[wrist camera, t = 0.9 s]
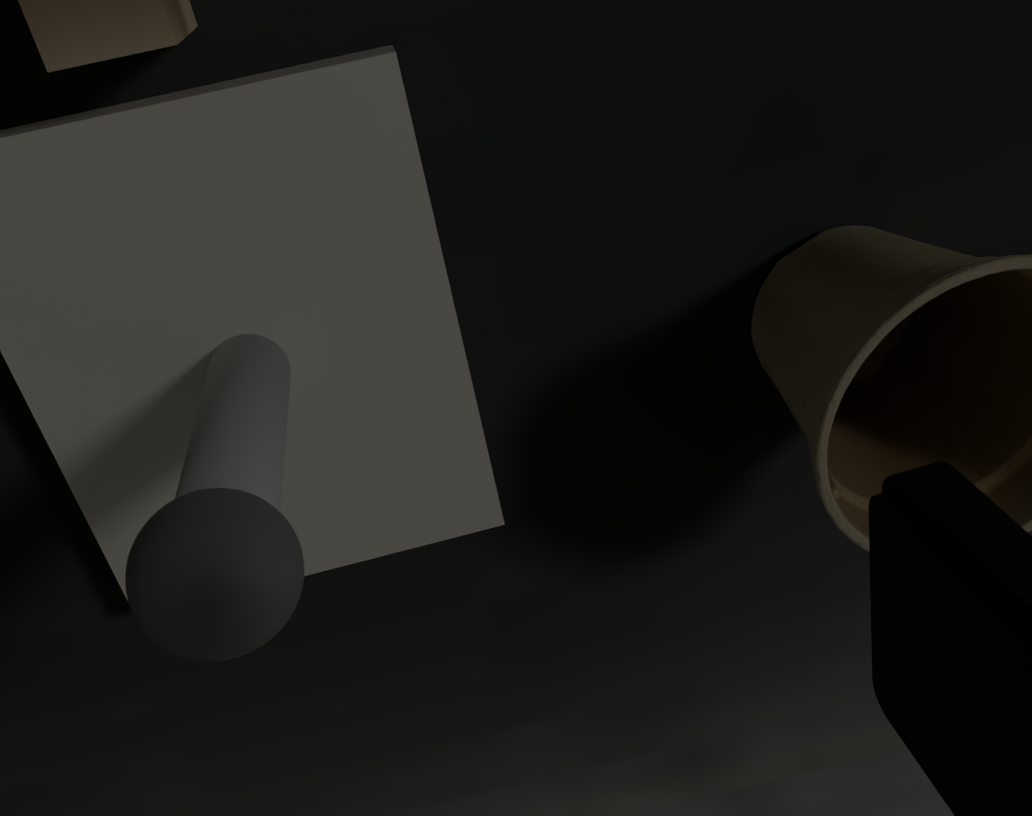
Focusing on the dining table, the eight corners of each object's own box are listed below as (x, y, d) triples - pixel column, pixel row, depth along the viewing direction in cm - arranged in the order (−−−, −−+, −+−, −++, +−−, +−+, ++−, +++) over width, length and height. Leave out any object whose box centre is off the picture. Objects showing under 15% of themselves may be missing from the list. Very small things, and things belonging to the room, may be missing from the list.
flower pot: (687, 216, 30) (806, 317, 23) (959, 140, 31) (1163, 215, 23) (719, 453, 35) (826, 601, 27) (954, 384, 35) (1123, 511, 28)
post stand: (-76, 146, 25) (-413, 345, 14) (392, 44, 26) (444, 150, 15) (144, 591, 33) (47, 955, 22) (497, 501, 34) (586, 803, 23)
